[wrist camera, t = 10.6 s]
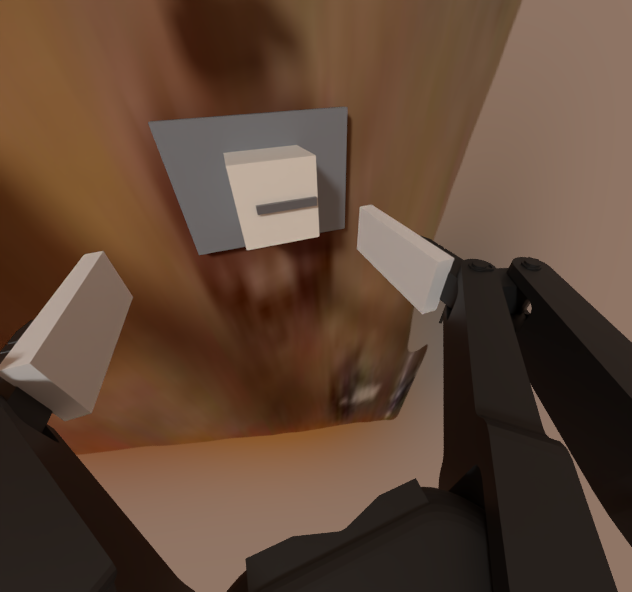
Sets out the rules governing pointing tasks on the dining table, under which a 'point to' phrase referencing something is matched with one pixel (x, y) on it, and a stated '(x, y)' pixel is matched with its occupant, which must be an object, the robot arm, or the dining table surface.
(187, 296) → the dining table surface
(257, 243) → the cream slotted box
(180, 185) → the board
